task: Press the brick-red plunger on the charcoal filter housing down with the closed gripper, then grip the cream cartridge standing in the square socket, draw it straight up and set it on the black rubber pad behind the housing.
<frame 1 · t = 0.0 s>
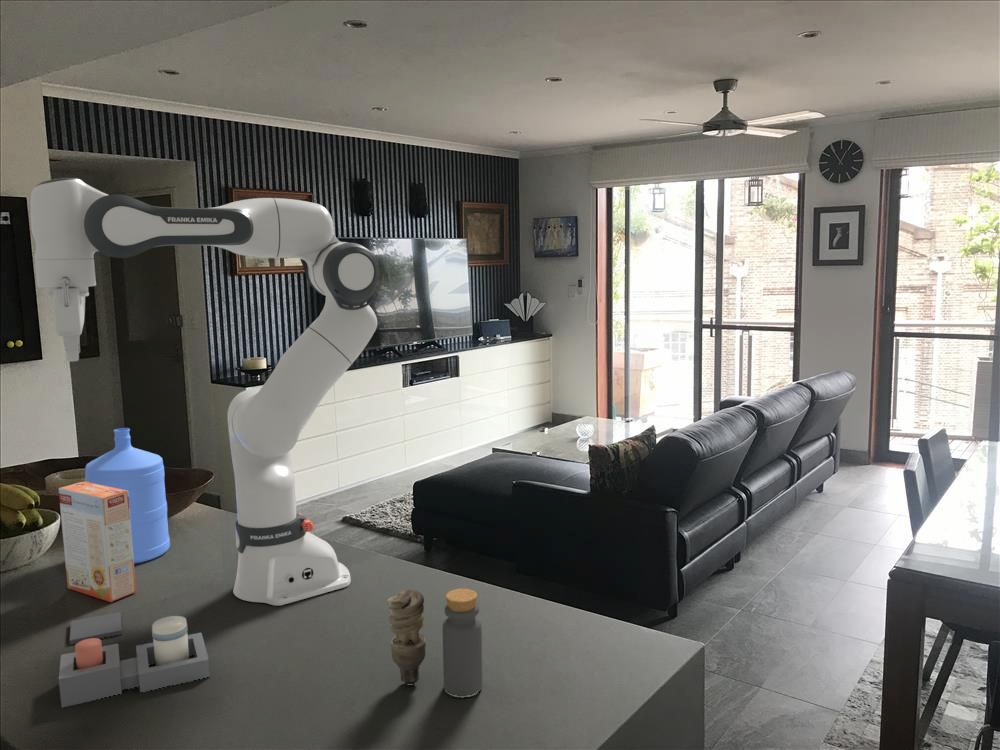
hand: (73, 357, 138), 48 cm above the kitchen island, tool pointing down, fingers open, 8 cm apart
bottle: (463, 689, 122), on the kitchen island
plunger: (89, 659, 122), point 5 cm above the kitchen island, slide at 0.0 cm
light bulb: (408, 685, 123), on the kitchen island
pad: (96, 629, 142), on the kitchen island
cracker box: (102, 591, 158), on the kitchen island
housing: (138, 677, 126), on the kitchen island
cartridge: (173, 670, 128), resting in housing
water jug: (132, 554, 178), on the kitchen island
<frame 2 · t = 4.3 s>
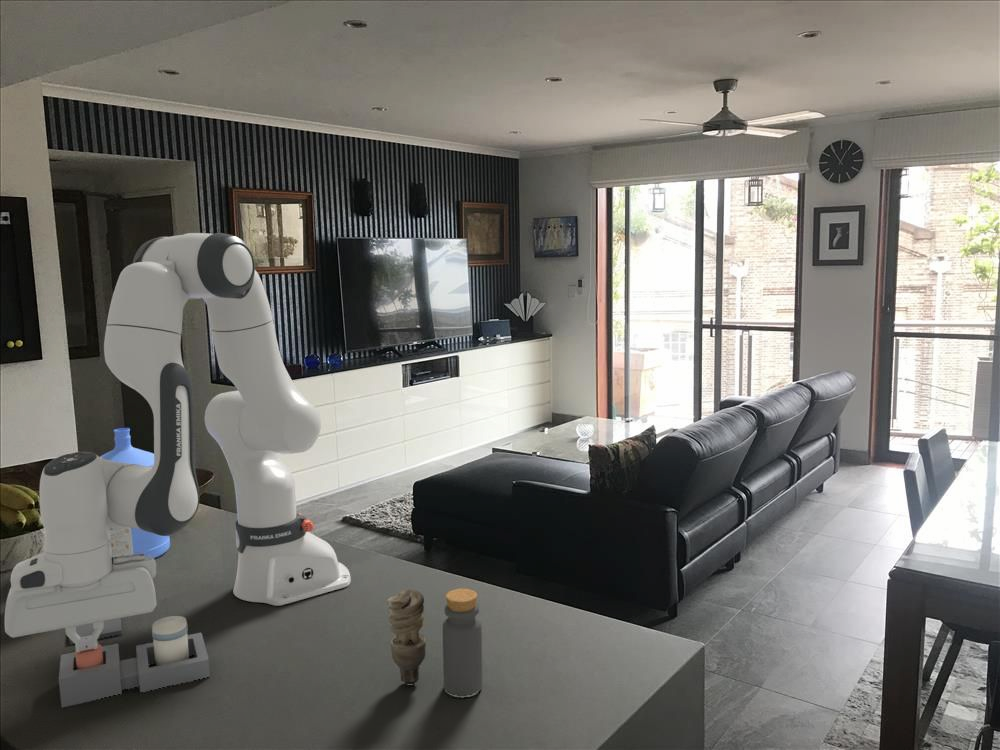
hand: (87, 649, 122), 6 cm above the kitchen island, tool pointing down, fingers closed, pressing on plunger
plunger: (90, 664, 122), point 4 cm above the kitchen island, slide at 0.9 cm, touching gripper
everything else where it was.
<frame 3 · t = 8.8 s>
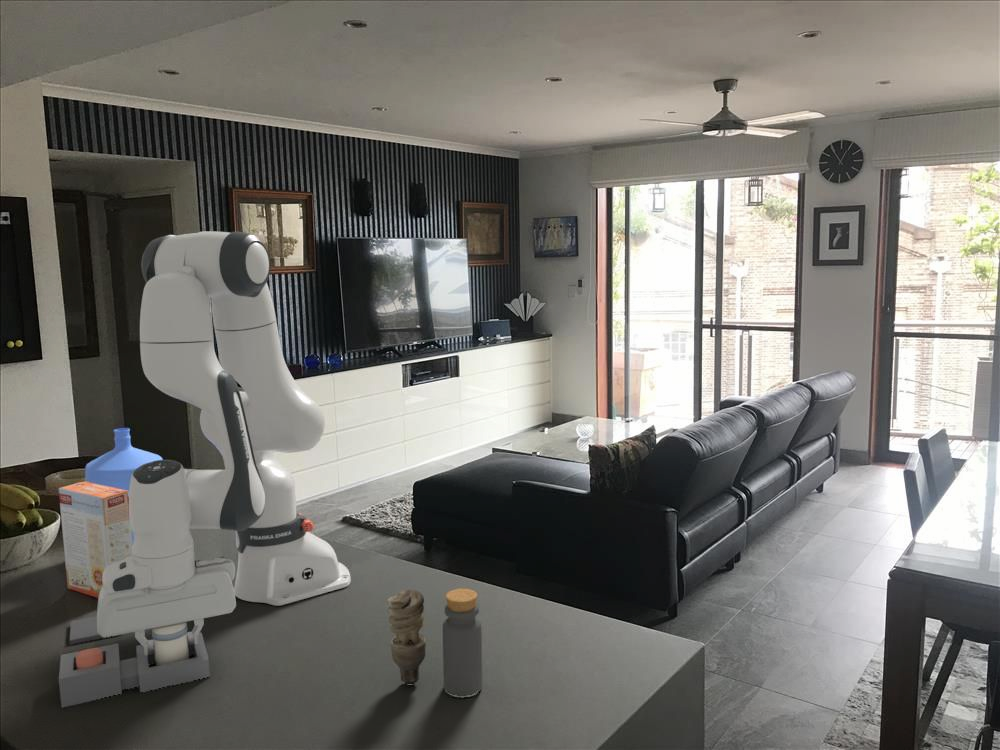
hand: (171, 648, 127), 4 cm above the kitchen island, tool pointing down, fingers closed on cartridge, 5 cm apart
plunger: (90, 669, 122), point 3 cm above the kitchen island, slide at 1.6 cm
cartridge: (172, 670, 128), resting in housing, touching gripper
everything else where it was.
when the fingers open (6 cm above the kitchen island, at t = 15.0 s): cartridge drops 1 cm, resting on pad.
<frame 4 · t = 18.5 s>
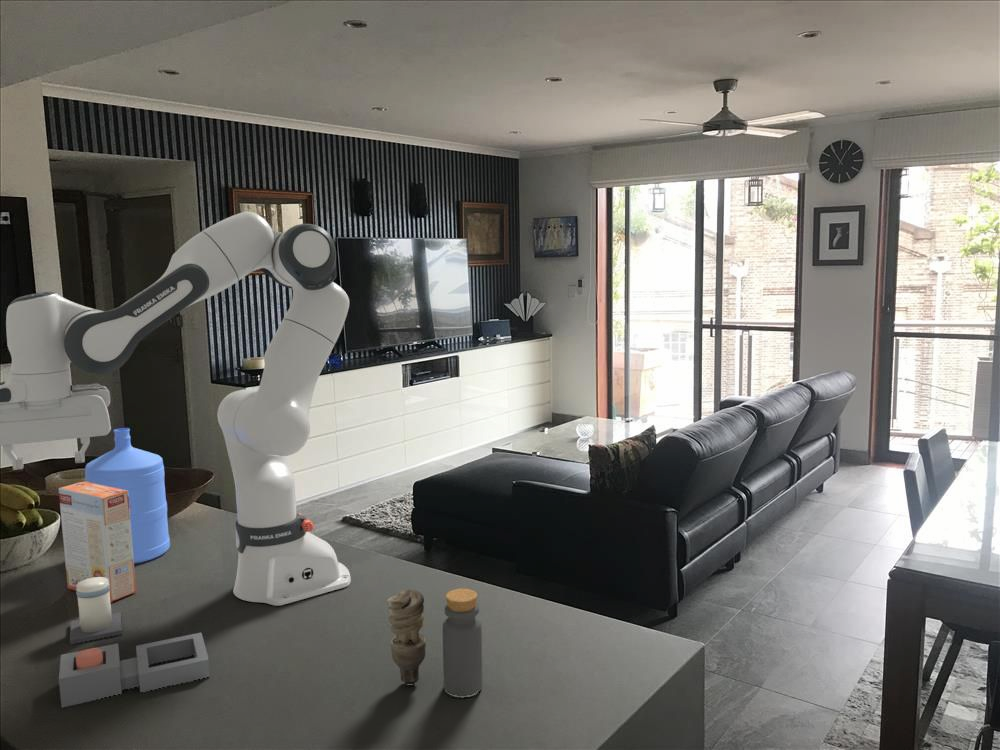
hand: (49, 465, 140), 29 cm above the kitchen island, tool pointing down, fingers open, 8 cm apart
cartridge: (96, 625, 142), point 1 cm above the kitchen island, touching pad
everything else where it was.
at the end: plunger slide at 1.6 cm; cartridge inside the target area on the pad (0.1 cm from its centre), point 0.8 cm above the pad's base; cartridge tilted 0° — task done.
